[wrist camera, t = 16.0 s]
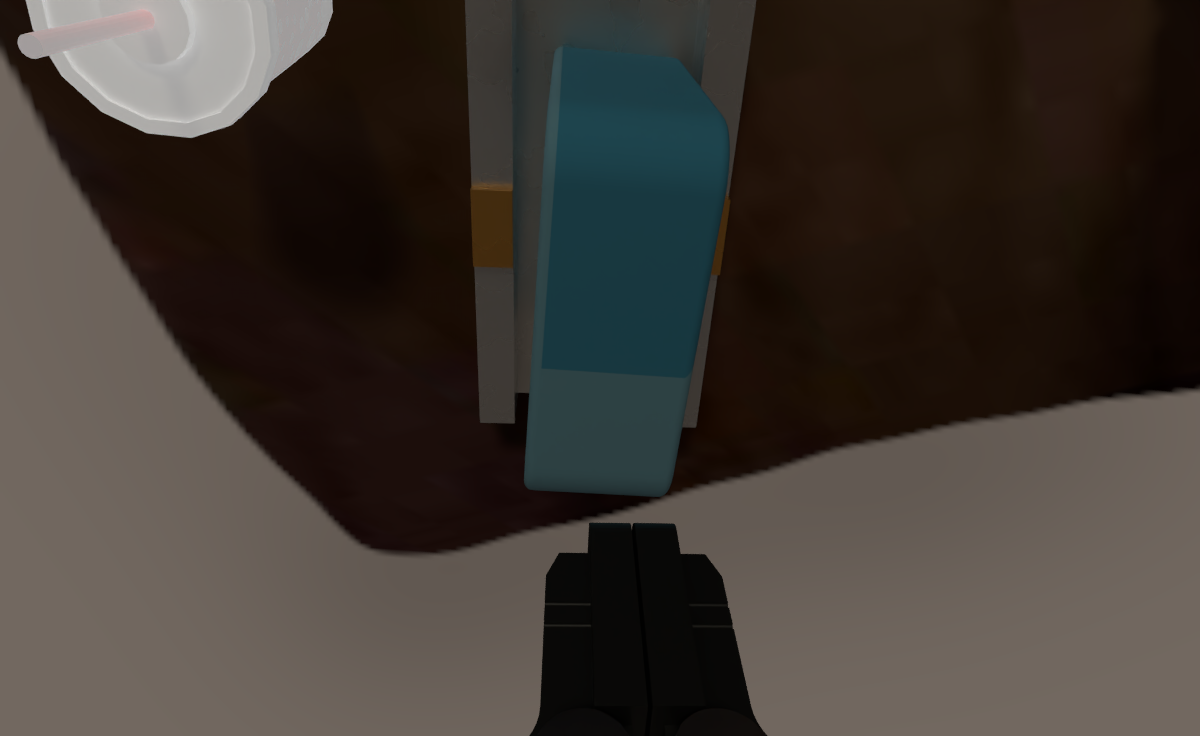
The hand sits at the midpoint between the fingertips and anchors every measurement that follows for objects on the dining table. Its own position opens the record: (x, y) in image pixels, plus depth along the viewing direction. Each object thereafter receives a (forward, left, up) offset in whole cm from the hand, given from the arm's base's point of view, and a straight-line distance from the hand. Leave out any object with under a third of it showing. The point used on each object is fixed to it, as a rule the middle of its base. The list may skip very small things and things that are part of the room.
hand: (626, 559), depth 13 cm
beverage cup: (+12, -7, -21) cm, 25 cm away
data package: (0, 0, -20) cm, 20 cm away
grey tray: (0, 0, -21) cm, 21 cm away
